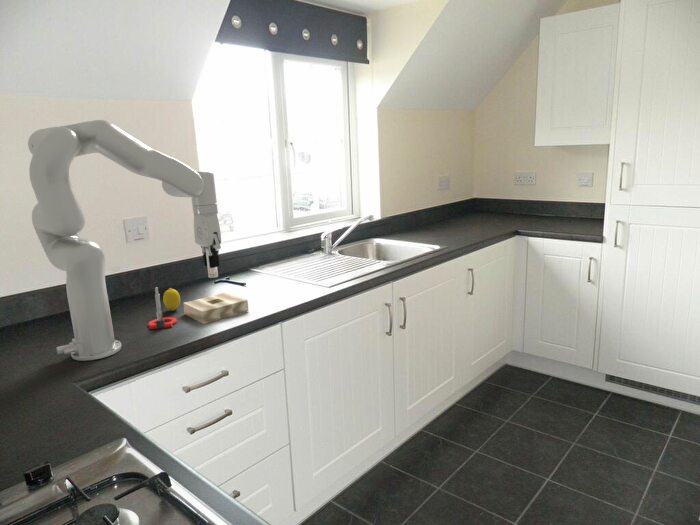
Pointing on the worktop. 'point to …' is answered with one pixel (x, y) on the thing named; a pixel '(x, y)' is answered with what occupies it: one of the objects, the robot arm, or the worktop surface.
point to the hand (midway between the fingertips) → (212, 265)
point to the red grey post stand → (160, 316)
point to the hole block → (215, 307)
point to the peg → (211, 271)
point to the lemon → (171, 299)
